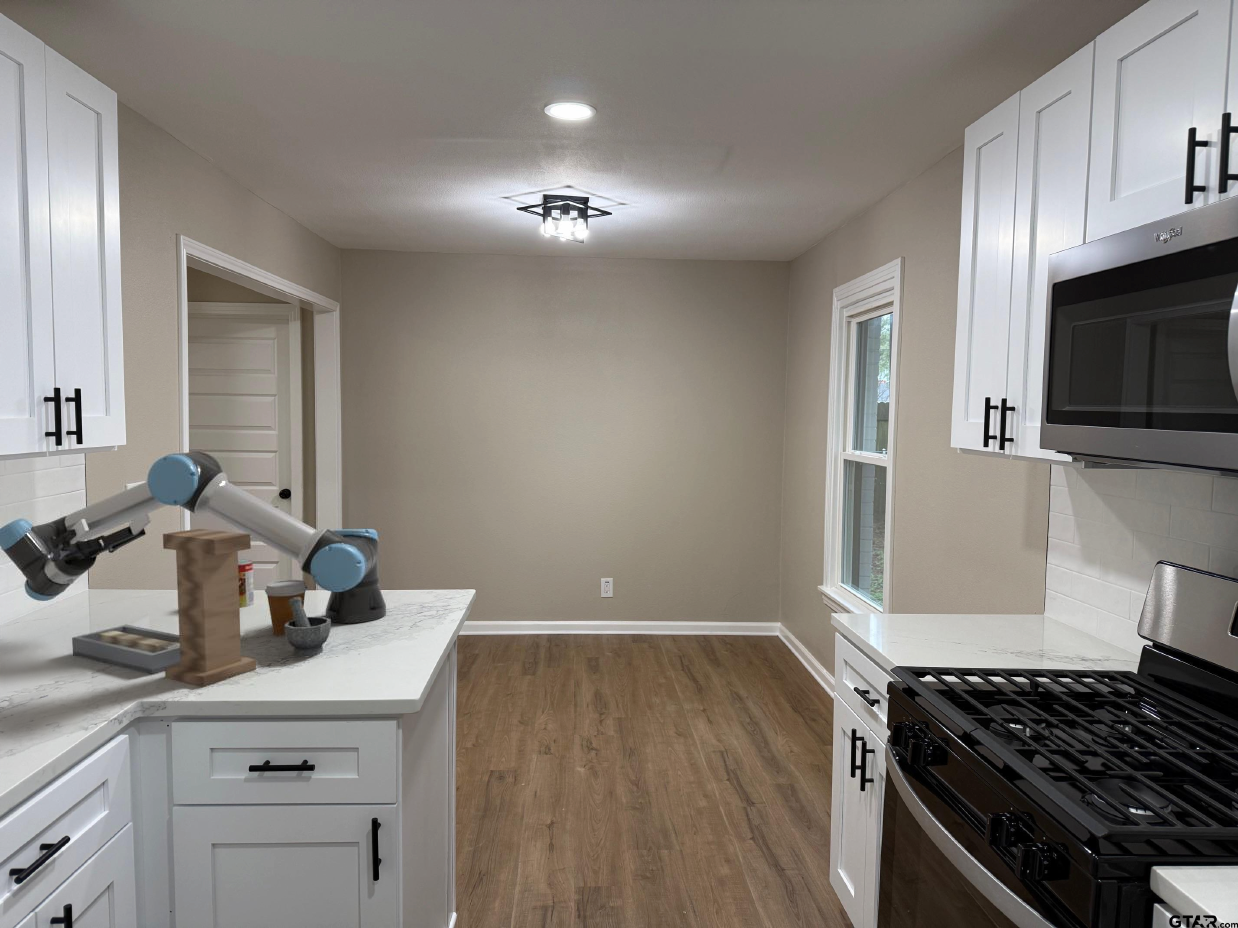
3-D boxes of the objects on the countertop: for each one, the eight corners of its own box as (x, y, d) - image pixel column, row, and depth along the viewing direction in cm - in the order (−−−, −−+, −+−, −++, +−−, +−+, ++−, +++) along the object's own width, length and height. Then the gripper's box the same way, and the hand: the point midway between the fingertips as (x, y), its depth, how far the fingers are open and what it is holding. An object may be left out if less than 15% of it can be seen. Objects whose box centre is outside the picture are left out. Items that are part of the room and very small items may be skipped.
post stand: (159, 675, 165) (153, 535, 163) (212, 659, 176) (207, 527, 173) (211, 688, 158) (205, 541, 156) (262, 670, 168) (258, 532, 166)
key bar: (97, 647, 181) (96, 634, 181) (115, 642, 185) (114, 629, 184) (166, 662, 170) (166, 648, 170) (184, 657, 174) (183, 643, 174)
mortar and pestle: (339, 651, 181) (338, 598, 181) (301, 661, 174) (300, 607, 173) (311, 642, 188) (310, 591, 187) (273, 652, 181) (272, 599, 180)
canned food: (226, 602, 227) (224, 559, 226) (256, 600, 229) (254, 558, 228) (219, 608, 219) (217, 565, 218) (250, 607, 221) (249, 563, 220)
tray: (72, 655, 178) (72, 637, 178) (126, 641, 189) (126, 624, 189) (152, 674, 166) (152, 655, 165) (205, 658, 176) (205, 640, 176)
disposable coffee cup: (282, 639, 190) (281, 589, 190) (257, 633, 196) (256, 584, 195) (316, 630, 199) (315, 582, 198) (292, 624, 204) (290, 577, 203)
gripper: (130, 566, 197) (176, 527, 188) (16, 587, 175) (62, 544, 166) (119, 538, 198) (165, 499, 189) (5, 556, 176) (50, 512, 167)
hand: (117, 520), depth 178 cm, fingers open, 13 cm apart
